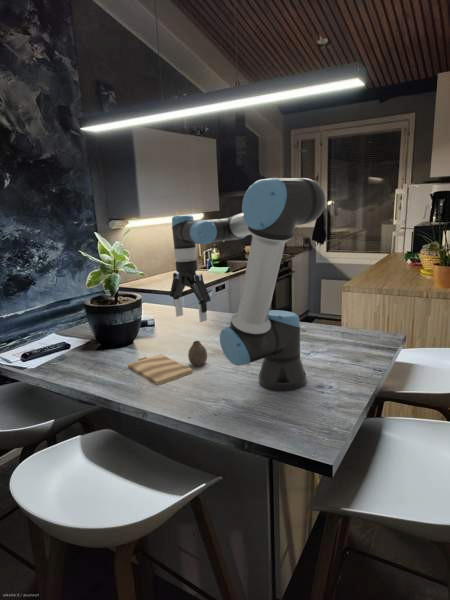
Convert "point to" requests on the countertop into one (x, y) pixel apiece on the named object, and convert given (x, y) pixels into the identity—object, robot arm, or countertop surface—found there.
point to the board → (159, 369)
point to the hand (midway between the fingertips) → (191, 318)
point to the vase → (197, 354)
